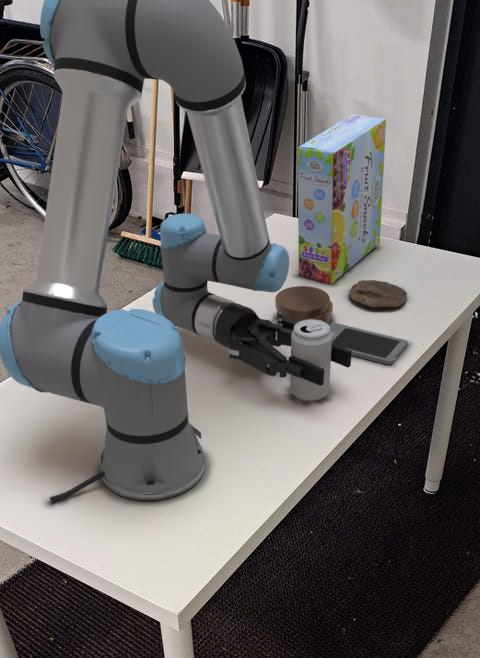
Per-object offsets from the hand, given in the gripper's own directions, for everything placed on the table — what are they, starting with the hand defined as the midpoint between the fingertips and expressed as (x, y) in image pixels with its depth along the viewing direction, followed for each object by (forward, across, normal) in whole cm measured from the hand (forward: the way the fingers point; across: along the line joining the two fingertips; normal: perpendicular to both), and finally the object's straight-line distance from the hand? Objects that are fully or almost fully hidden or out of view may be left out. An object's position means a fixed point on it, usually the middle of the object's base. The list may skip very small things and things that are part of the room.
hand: (336, 368), depth 134 cm
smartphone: (-8, -18, -7) cm, 21 cm away
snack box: (-32, -44, -7) cm, 55 cm away
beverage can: (-5, 0, -7) cm, 8 cm away
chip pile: (-22, -19, -7) cm, 29 cm away
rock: (-16, -35, -7) cm, 39 cm away
